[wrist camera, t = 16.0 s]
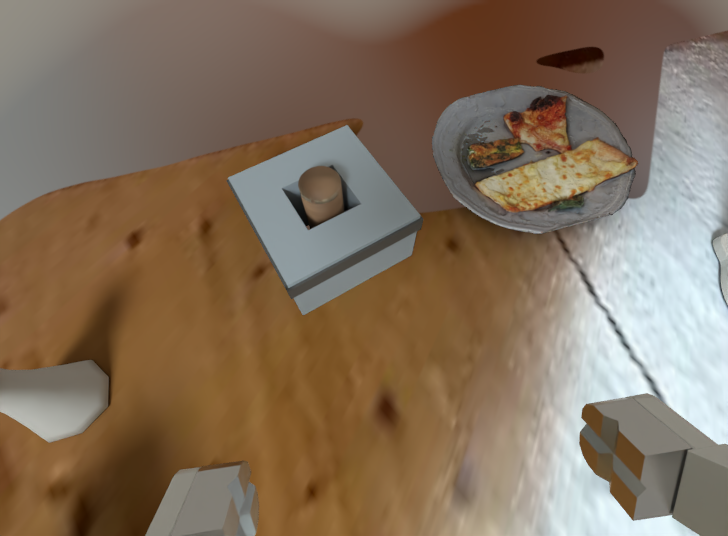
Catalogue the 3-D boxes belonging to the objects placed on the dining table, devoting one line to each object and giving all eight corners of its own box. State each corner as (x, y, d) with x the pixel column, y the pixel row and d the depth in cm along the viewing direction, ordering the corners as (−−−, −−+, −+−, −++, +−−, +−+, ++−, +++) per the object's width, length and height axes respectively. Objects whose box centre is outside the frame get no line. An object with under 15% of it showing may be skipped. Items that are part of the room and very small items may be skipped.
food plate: (566, 83, 54) (578, 60, 50) (664, 206, 44) (686, 188, 41) (407, 122, 51) (409, 101, 48) (473, 261, 42) (481, 247, 39)
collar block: (351, 172, 47) (348, 122, 40) (414, 255, 41) (424, 216, 34) (248, 220, 44) (224, 177, 36) (302, 318, 38) (286, 289, 31)
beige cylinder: (336, 218, 44) (328, 160, 35) (353, 242, 42) (348, 188, 33) (307, 233, 43) (291, 177, 34) (323, 258, 41) (310, 206, 32)
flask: (100, 347, 37) (13, 317, 28) (122, 409, 34) (34, 397, 25) (26, 389, 35) (-91, 371, 26) (44, 457, 33) (-80, 463, 24)
